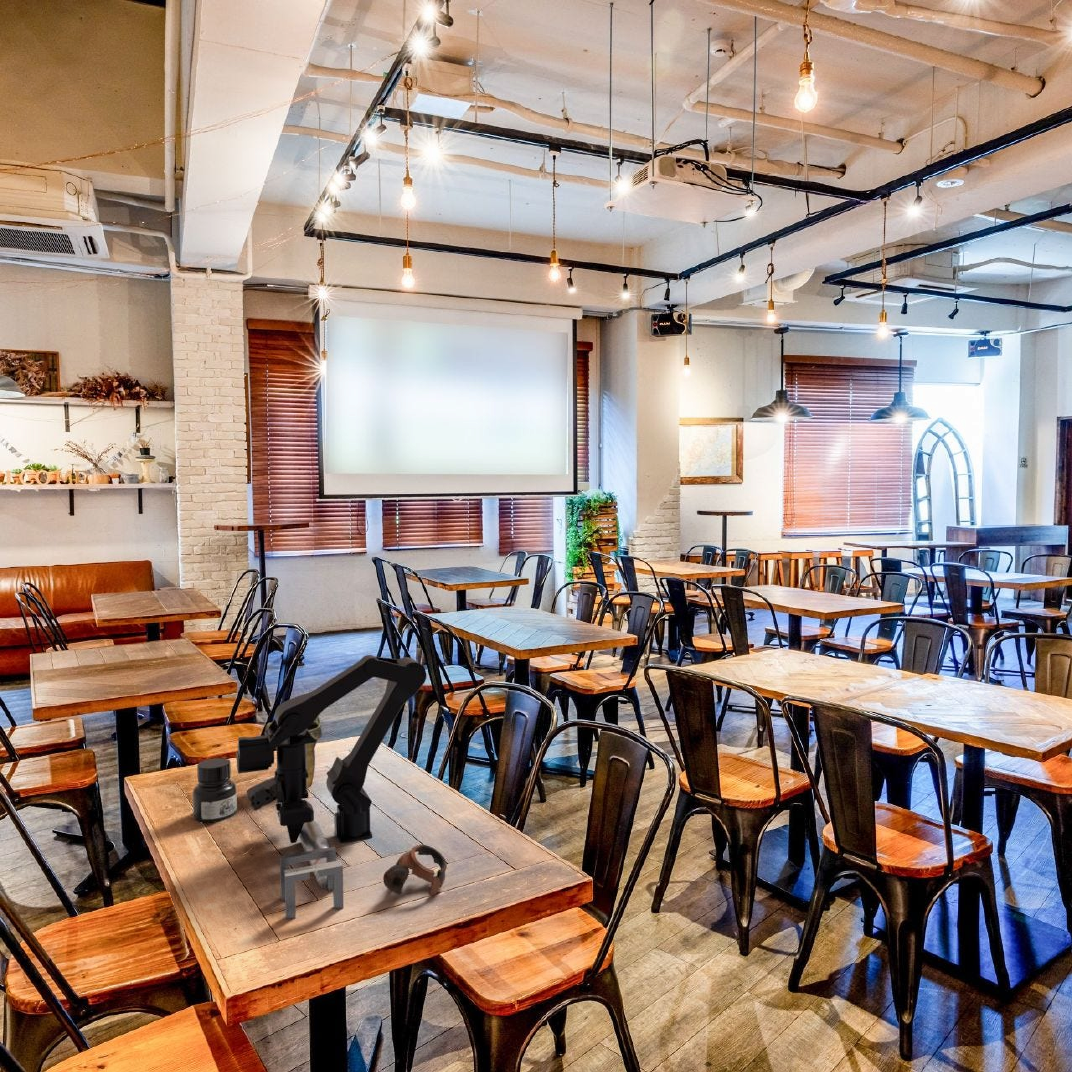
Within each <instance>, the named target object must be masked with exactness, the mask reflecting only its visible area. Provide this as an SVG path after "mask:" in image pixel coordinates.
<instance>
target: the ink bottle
mask: <svg viewBox="0 0 1072 1072" xmlns="http://www.w3.org/2000/svg"><path fill="white" fill-rule="evenodd" d="M231 766H232V765H231V760H230V759H228V758H222V757H221V758H220V757H219V758H210V759H205V760H203V761H201V762H199V763H197V765H196V768H197V770H196V771H197V772H196V773H197V775H196V776H197V782H198V784H197V785H196V786H195V787H194V788H193V791H192V805H193V809H192V811H193V813H192V814H193V819H194V821H195V820H196V821H195V822H197V821H198V822H197V823H200V822H202V823H201V824H215V823H216V822H217V823H218V822H222V821H225V820H228V819H230V818H232V817H234V816H235V815H236V814H237V812H238V810H237V809H238V803H237V801H238V800H237V796H238V795H237V786H236V783H235V782H234V781H233V780H232V779H231V777H232V775H231V774H232V770H231V769H232V767H231Z"/></svg>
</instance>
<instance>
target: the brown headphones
mask: <svg viewBox="0 0 1072 1072" xmlns="http://www.w3.org/2000/svg"><path fill="white" fill-rule="evenodd" d="M417 852H418V853H417ZM416 853H417V855H418V856H431V857H432V859H433V863H434V864H437V865H438V866H439V868H440V869H438V870H437V873H435V871H434V870H433V869H431V868H427V867H426V866H424V865H423V864H422V863H421V862H420V861H418V859H417V856H416ZM447 868H448V865H447V860H446V859H445V857H444V855H443V854H442V853H441V852H439V851H438V850H437V849H436V848H434V847H432V846H430V845H426V844H419V845H414V846H413V847H412V848H411V850H409V851H406V852H404V853H403V854H402V855H400V856H399V858H398V859H397V861H396V863H395V864H394V865H392V866H391V867H390V868H388V869H387V870H386V871H385V872H384V874H383V884H384V886H385V887H386V888H387V889H388V890H390V891H391V892H394V894H398V895H401V894H402V891H403V887H404V885H405V882H406V881H407V880H408V878H409V875H410V870H411V874H412V875H414V876H416V877H417V878H418V879H422V880H424V881H425V882H428V883H430V886H431V887H430V889H429V892H428V894H429V896H431V897H433V896H436V895H437V893H438V892H439V889H440V888H442V886H443V885H444V883H445V880H446V870H447ZM435 874H436V875H435Z"/></svg>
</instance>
